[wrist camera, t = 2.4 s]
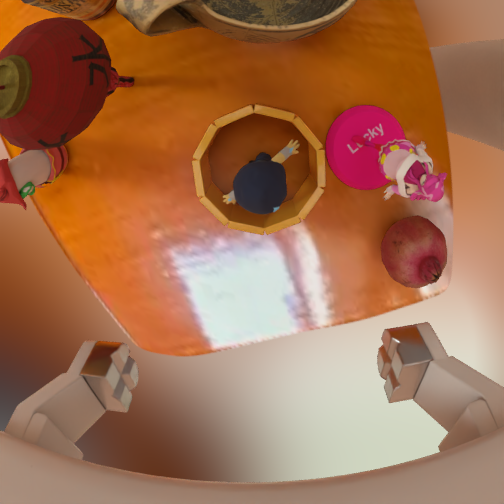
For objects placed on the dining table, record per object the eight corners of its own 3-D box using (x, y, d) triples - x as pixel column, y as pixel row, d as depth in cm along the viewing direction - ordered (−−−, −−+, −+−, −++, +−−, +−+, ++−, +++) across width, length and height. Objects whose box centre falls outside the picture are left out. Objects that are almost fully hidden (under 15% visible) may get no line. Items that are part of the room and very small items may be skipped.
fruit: (366, 216, 35) (398, 258, 26) (423, 197, 34) (467, 232, 25) (376, 271, 39) (404, 320, 30) (429, 252, 37) (465, 295, 28)
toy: (56, 191, 34) (-19, 244, 21) (32, 140, 31) (-52, 176, 17) (84, 171, 33) (6, 221, 20) (58, 118, 29) (-30, 145, 16)
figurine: (374, 88, 28) (452, 91, 15) (419, 157, 31) (500, 202, 18) (307, 139, 31) (344, 174, 18) (358, 205, 35) (411, 275, 21)
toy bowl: (312, 100, 29) (322, 101, 25) (317, 212, 35) (326, 230, 31) (195, 110, 30) (184, 113, 25) (210, 220, 36) (204, 240, 31)
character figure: (239, 201, 35) (231, 253, 24) (214, 175, 33) (193, 215, 23) (304, 149, 32) (328, 178, 21) (280, 120, 30) (292, 133, 20)
